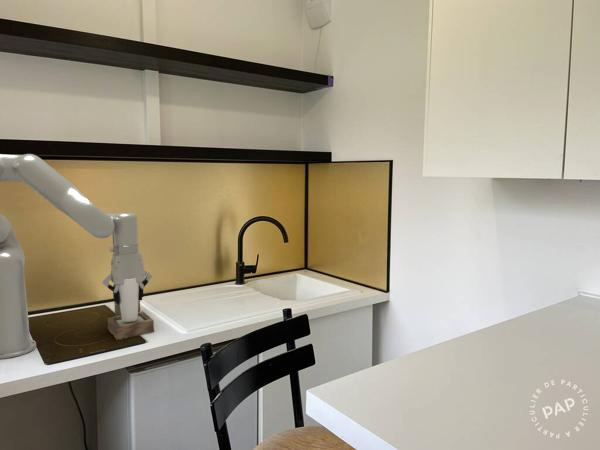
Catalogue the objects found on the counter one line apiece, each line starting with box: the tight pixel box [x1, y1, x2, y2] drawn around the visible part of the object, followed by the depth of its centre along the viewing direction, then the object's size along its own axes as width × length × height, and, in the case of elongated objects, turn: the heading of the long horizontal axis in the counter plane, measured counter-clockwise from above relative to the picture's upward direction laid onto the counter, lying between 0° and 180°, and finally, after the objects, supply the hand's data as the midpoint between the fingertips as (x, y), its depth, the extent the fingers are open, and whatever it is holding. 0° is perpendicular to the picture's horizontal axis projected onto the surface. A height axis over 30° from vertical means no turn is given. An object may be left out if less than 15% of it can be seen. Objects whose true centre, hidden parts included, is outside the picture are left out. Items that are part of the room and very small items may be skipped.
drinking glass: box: [118, 278, 139, 322], centre depth 150 cm, size 7×7×15 cm
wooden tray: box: [107, 310, 155, 341], centre depth 151 cm, size 12×12×4 cm
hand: (128, 300), depth 150 cm, fingers open, 6 cm apart
